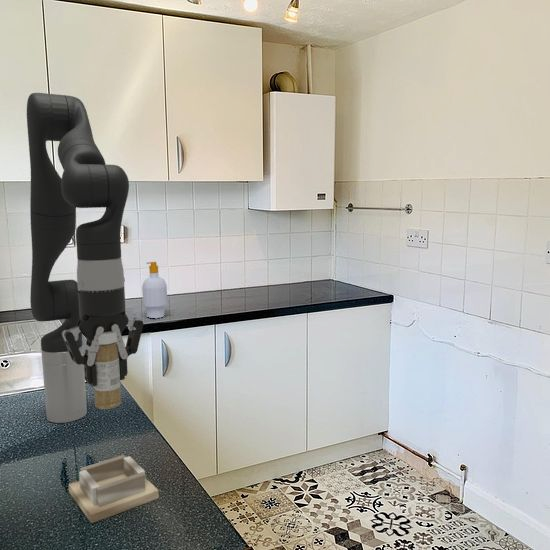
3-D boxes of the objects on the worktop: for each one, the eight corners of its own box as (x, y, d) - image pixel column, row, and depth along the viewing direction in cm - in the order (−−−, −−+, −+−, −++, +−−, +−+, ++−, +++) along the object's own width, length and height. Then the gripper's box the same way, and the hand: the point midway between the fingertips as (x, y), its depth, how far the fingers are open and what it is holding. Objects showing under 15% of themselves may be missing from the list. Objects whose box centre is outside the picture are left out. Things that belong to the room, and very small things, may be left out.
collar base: (68, 491, 98) (67, 468, 98) (132, 470, 105) (130, 449, 105) (91, 523, 89) (89, 498, 88) (158, 498, 96) (157, 474, 95)
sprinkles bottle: (113, 398, 98) (109, 325, 96) (126, 404, 95) (123, 330, 93) (89, 405, 94) (84, 330, 92) (102, 412, 91) (98, 335, 89)
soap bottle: (139, 317, 235) (136, 262, 231) (160, 313, 241) (158, 259, 238) (150, 321, 227) (147, 264, 223) (172, 317, 233) (170, 262, 230)
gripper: (132, 277, 99) (137, 368, 101) (50, 286, 90) (57, 385, 93) (150, 283, 93) (154, 379, 95) (64, 293, 84) (71, 398, 87)
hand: (106, 381), depth 94 cm, fingers closed on sprinkles bottle, 4 cm apart
